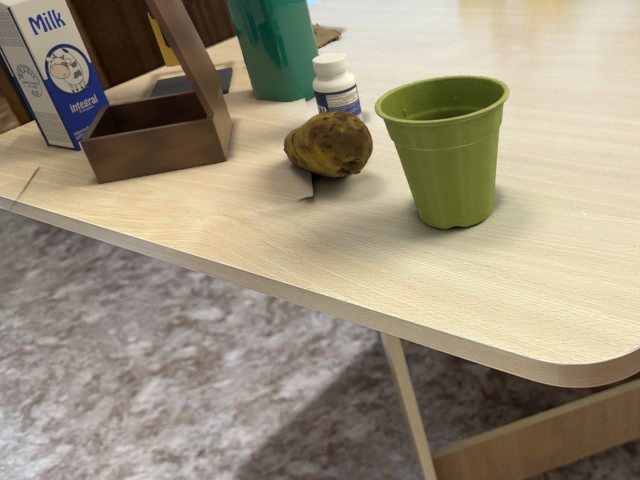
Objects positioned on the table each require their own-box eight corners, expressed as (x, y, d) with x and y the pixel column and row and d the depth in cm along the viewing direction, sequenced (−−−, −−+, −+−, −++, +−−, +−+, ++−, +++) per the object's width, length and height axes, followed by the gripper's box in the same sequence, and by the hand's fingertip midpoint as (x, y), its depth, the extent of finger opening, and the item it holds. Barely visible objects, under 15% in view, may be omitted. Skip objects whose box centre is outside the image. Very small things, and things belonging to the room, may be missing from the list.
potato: (355, 149, 82) (340, 81, 77) (389, 190, 72) (375, 115, 67) (286, 167, 80) (267, 98, 75) (312, 212, 70) (292, 136, 65)
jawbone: (352, 34, 125) (350, 22, 124) (295, 73, 111) (293, 60, 109) (308, 30, 127) (306, 18, 126) (247, 68, 113) (244, 55, 112)
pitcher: (332, 87, 101) (293, -89, 87) (296, 108, 95) (248, -77, 82) (280, 83, 105) (235, -86, 91) (243, 103, 99) (189, -74, 86)
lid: (128, -31, 68) (179, -50, 68) (147, -50, 78) (192, -67, 77) (207, 116, 78) (252, 100, 77) (216, 83, 87) (256, 68, 87)
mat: (147, 106, 103) (146, 103, 102) (158, 82, 112) (157, 79, 112) (228, 93, 104) (227, 89, 104) (232, 70, 113) (231, 67, 113)
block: (166, 67, 104) (147, 13, 99) (170, 59, 107) (151, 6, 102) (197, 62, 104) (178, 8, 99) (199, 54, 107) (182, 1, 103)
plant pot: (532, 188, 69) (526, 73, 62) (493, 249, 61) (481, 124, 54) (425, 181, 73) (408, 72, 66) (374, 237, 65) (349, 119, 58)
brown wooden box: (102, 190, 80) (79, 142, 76) (121, 149, 90) (102, 105, 86) (228, 167, 81) (212, 119, 78) (234, 129, 91) (220, 85, 88)
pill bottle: (321, 127, 88) (304, 55, 83) (361, 119, 89) (346, 47, 84) (327, 142, 84) (309, 67, 79) (368, 133, 85) (354, 58, 80)
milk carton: (92, 131, 97) (20, -29, 84) (124, 135, 94) (54, -29, 81) (48, 151, 92) (-35, -14, 79) (80, 157, 89) (-1, -14, 77)
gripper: (111, -93, 98) (157, 34, 109) (90, -81, 87) (143, 59, 98) (165, -101, 99) (205, 26, 110) (150, -90, 88) (197, 50, 99)
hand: (176, 41), depth 104 cm, fingers closed on block, 4 cm apart
